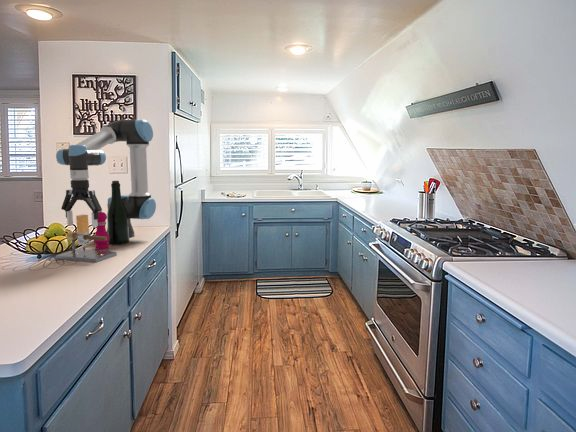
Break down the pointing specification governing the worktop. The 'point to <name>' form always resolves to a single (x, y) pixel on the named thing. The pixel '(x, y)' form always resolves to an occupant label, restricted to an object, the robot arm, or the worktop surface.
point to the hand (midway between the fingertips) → (82, 225)
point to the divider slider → (82, 229)
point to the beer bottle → (117, 218)
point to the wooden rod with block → (74, 236)
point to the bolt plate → (86, 255)
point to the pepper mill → (101, 232)
